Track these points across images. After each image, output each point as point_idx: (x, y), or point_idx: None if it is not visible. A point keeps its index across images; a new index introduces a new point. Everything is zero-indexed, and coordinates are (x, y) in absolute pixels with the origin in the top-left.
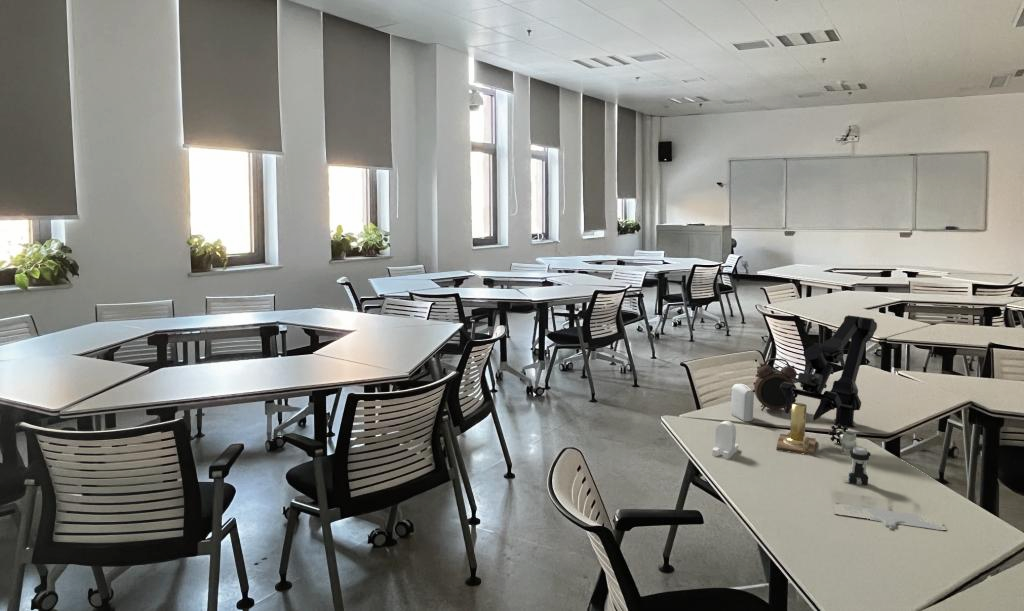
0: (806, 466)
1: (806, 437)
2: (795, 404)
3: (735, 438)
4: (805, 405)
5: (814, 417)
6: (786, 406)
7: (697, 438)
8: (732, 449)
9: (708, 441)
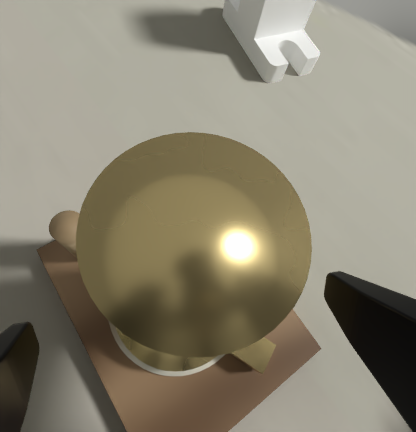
0: (4, 122)
1: (65, 225)
2: (241, 195)
3: (263, 3)
4: (108, 283)
5: (4, 331)
6: (394, 294)
7: (401, 72)
8: (241, 19)
9: (366, 75)
